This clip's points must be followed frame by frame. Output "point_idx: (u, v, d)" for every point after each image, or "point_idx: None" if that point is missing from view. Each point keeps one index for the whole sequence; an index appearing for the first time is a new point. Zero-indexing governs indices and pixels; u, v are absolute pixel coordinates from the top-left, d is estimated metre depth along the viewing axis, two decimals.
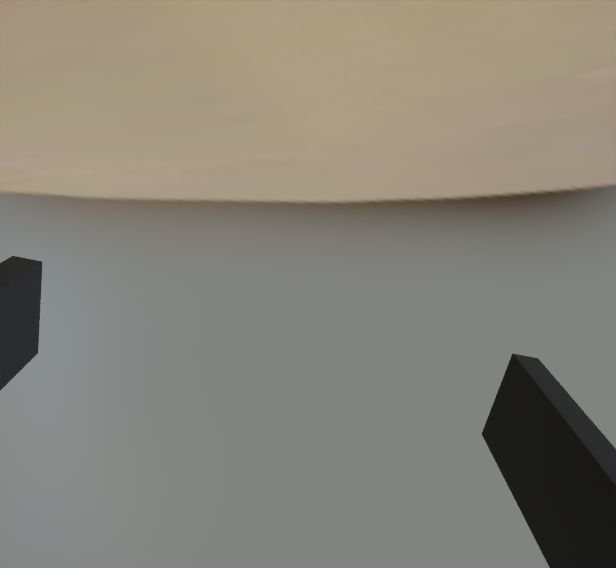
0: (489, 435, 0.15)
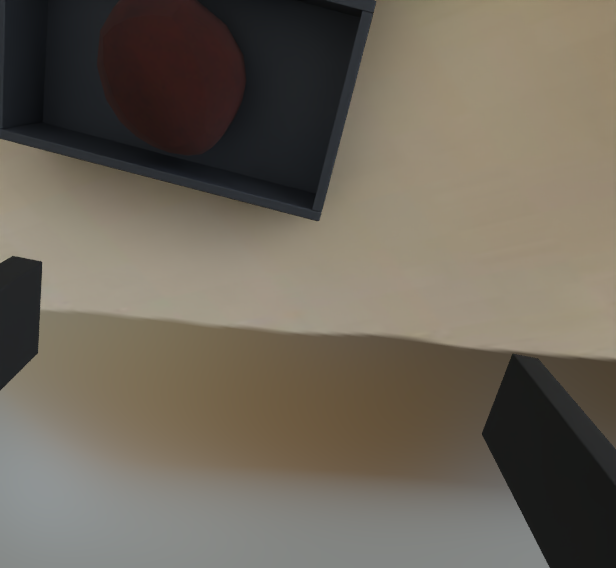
0: (489, 435, 0.15)
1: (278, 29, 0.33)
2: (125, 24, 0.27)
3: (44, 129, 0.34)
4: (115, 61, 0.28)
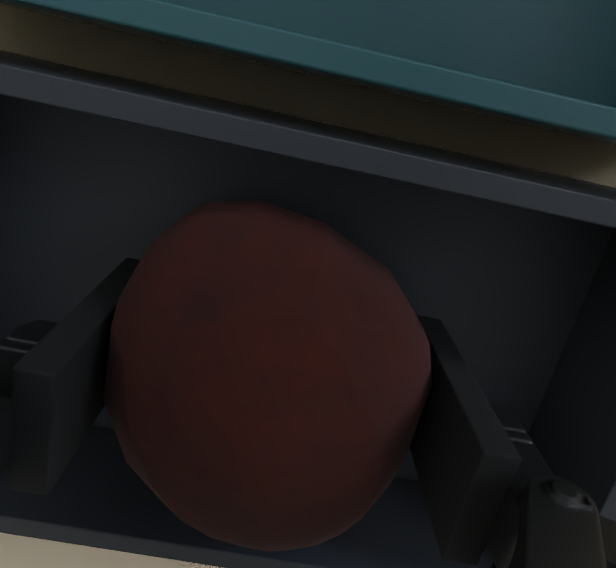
0: None
1: (455, 234, 0.17)
2: (188, 341, 0.10)
3: None
4: (161, 430, 0.11)
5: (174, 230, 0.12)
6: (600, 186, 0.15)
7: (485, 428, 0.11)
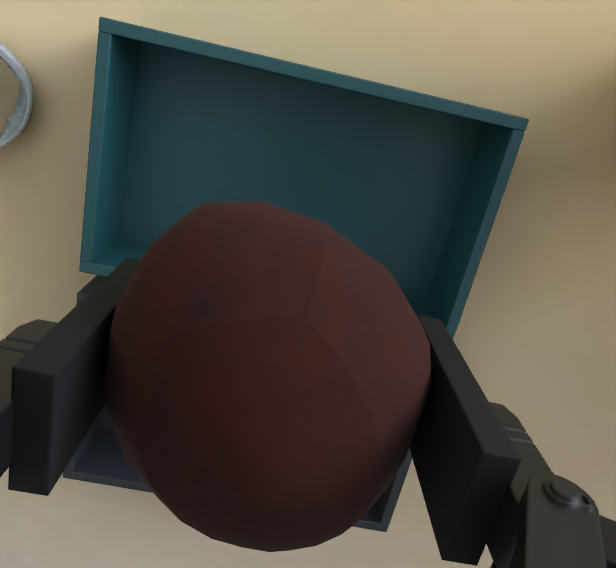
0: None
1: None
2: (187, 341, 0.10)
3: (107, 447, 0.35)
4: (161, 431, 0.11)
5: (174, 230, 0.12)
6: None
7: (485, 428, 0.11)
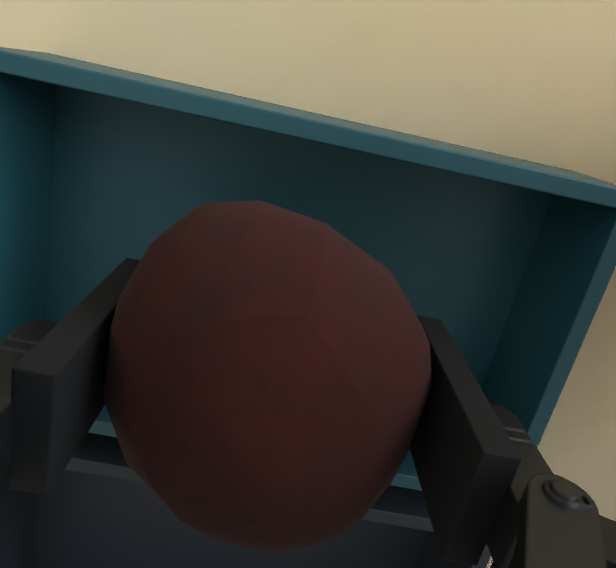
0: None
1: None
2: (187, 341, 0.10)
3: None
4: (161, 431, 0.11)
5: (174, 230, 0.12)
6: None
7: (485, 428, 0.11)
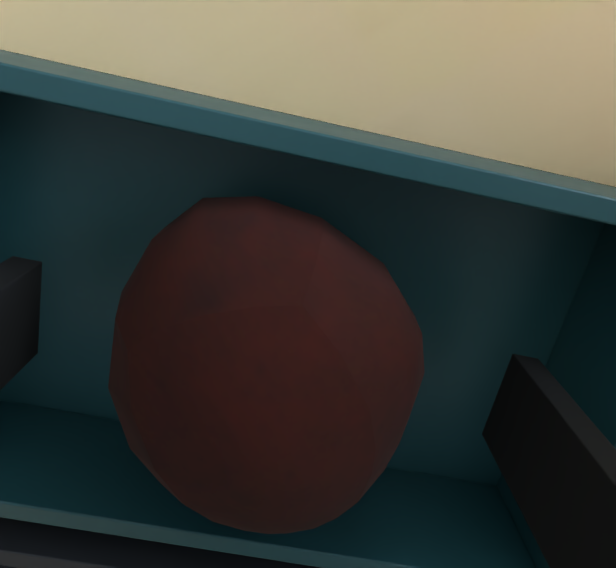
0: (489, 435, 0.15)
1: None
2: (189, 330, 0.11)
3: None
4: (164, 416, 0.11)
5: (176, 224, 0.13)
6: None
7: None
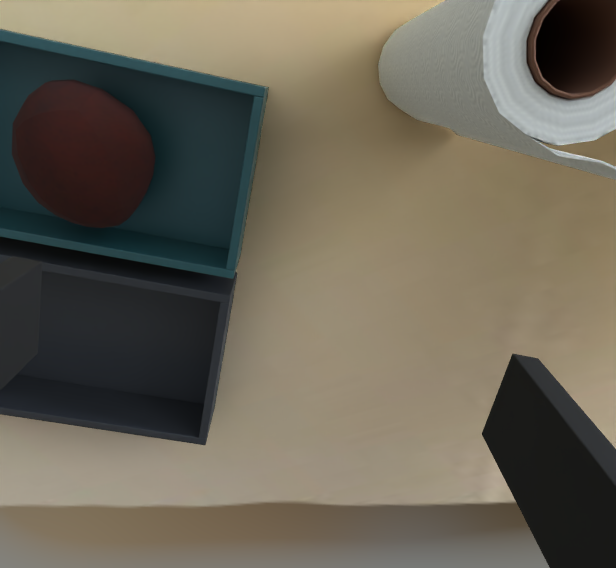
0: (489, 435, 0.15)
1: None
2: (36, 119, 0.30)
3: None
4: (28, 152, 0.30)
5: (37, 88, 0.32)
6: None
7: None
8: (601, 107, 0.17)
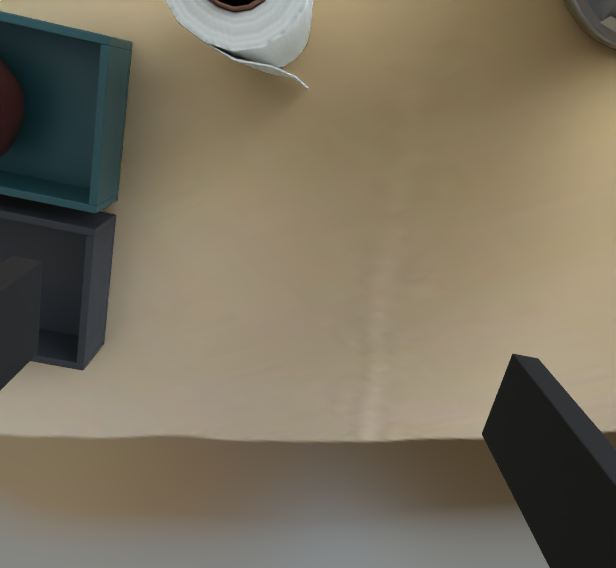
0: (489, 435, 0.15)
1: (47, 230, 0.45)
2: None
3: None
4: None
5: None
6: (87, 212, 0.44)
7: None
8: (262, 18, 0.21)
